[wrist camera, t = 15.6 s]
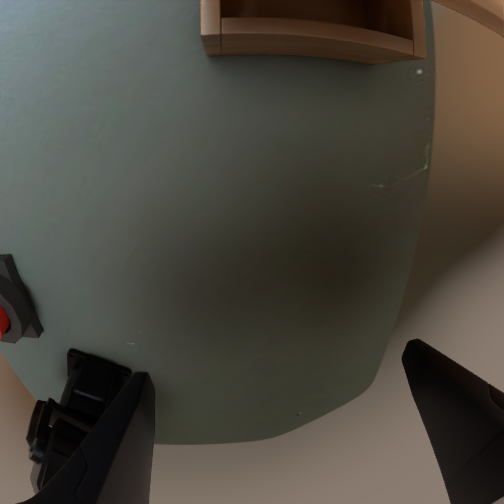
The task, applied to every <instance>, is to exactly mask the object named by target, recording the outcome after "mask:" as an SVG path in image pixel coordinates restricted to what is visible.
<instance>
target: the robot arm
mask: <svg viewBox="0 0 504 504" xmlns="http://www.w3.org/2000/svg"><path fill="white" fill-rule="evenodd" d="M67 363H68V380H67V383H66V386H65V388H64V391H63V394H62V397H61V400H60V403H59V404H58V403H56V402H55V400H53V399H52V398H49V399H48V400H47V402H46V401H41V400H38V401H37V402H36V405H35V408H34V411H33V413H32V416H31V420H30V424H29V427H28V431H27V436H26V440H27V443H28V445H29V459H30V460H32V461H33V462H34V464H33V468H32V472H31V476H30V479H31V483H32V486H33V490H34V492H35V495H34V496H33V497H32V498H30V499H28V500H26V501H24V502H21V503H17V504H149V493H150V479H151V468H152V457H153V446H154V437H155V389H154V385H153V383H152V381H151V378H150V376H149V374H148V373H147V372H135V373H134V374H133V376H132V377H131V374H132V372H131V370H129V369H127V368H124V367H121V366H118V365H115V364H112V363H109V362H106V361H103V360H100V359H97V358H94V357H91V356H89V355H86V354H83V353H80V352H78V351H75V350H72V349H70V350H69V351H68V353H67ZM402 363H403V366H404V370H405V373H406V376H407V379H408V383H409V386H410V389H411V392H412V396H413V398H414V401H415V403H416V406H417V408H418V411H419V413H420V416H421V418H422V421H423V423H424V426H425V428H426V431H427V434H428V436H429V439H430V442H431V445H432V447H433V450H434V453H435V456H436V459H437V461H438V464H439V467H440V470H441V473H442V476H443V480H444V483H445V486H446V489H447V493H448V496H449V499H450V503H451V504H504V393H503V392H502V391H500V390H498V389H497V388H495V387H494V386H492V385H490V384H488V383H487V382H486V381H484V380H483V379H481V378H480V377H478V376H477V375H475V374H473V373H472V372H470V371H469V370H467V369H466V368H464V367H463V366H461V365H459V364H458V363H456V362H455V361H453V360H452V359H450V358H448V357H447V356H445V355H444V354H442V353H441V352H439V351H437V350H436V349H434V348H433V347H431V346H430V345H428V344H426V343H425V342H423V341H421V340H420V339H414V340H410V341H408V343H407V345H406V347H405V350H404V352H403V355H402ZM49 425H51V426H52V428H51V427H50V426H49Z"/></svg>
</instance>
